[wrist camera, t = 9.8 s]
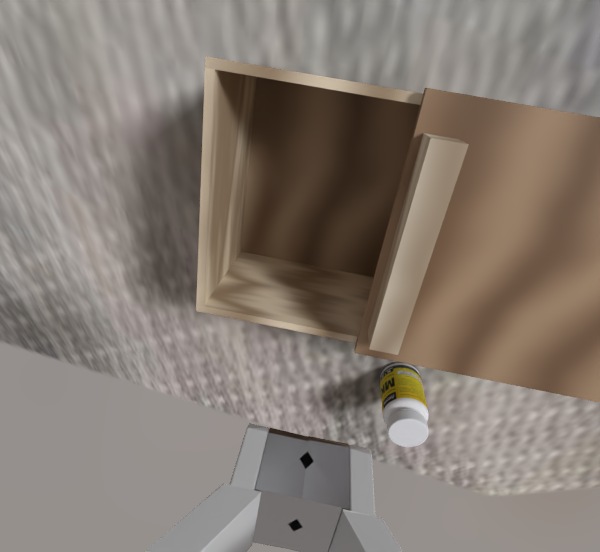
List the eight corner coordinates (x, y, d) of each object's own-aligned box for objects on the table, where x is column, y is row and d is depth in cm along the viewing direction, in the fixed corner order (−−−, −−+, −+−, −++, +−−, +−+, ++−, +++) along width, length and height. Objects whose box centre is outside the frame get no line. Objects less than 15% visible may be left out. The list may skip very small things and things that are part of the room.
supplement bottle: (386, 357, 45) (393, 410, 38) (426, 367, 45) (440, 422, 38) (374, 387, 48) (378, 443, 40) (411, 396, 47) (422, 455, 40)
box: (236, 253, 42) (195, 310, 31) (252, 66, 34) (205, 56, 23) (401, 285, 41) (418, 355, 30) (459, 101, 33) (509, 108, 22)
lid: (354, 348, 30) (354, 373, 28) (424, 88, 22) (434, 88, 19) (594, 396, 30) (618, 427, 27) (761, 145, 21) (820, 154, 19)
